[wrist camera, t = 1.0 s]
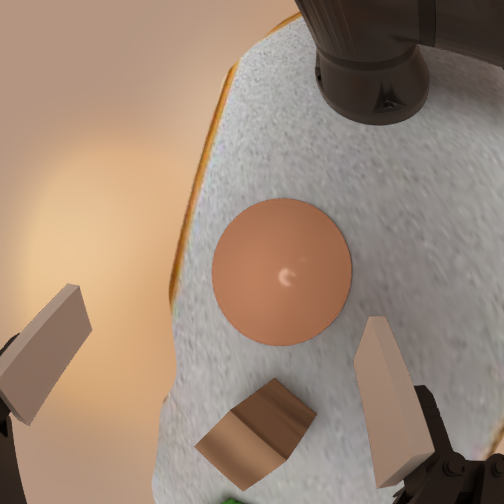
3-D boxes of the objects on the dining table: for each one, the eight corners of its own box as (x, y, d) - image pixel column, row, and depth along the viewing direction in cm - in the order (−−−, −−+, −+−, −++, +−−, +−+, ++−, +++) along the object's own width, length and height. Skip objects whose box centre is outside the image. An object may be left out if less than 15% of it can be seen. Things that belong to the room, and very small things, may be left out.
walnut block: (274, 377, 34) (229, 410, 24) (316, 414, 31) (286, 460, 21) (242, 411, 35) (194, 446, 25) (281, 445, 32) (243, 491, 22)
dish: (266, 176, 37) (262, 173, 36) (382, 255, 30) (382, 254, 29) (195, 284, 40) (190, 284, 38) (290, 372, 33) (287, 375, 32)
